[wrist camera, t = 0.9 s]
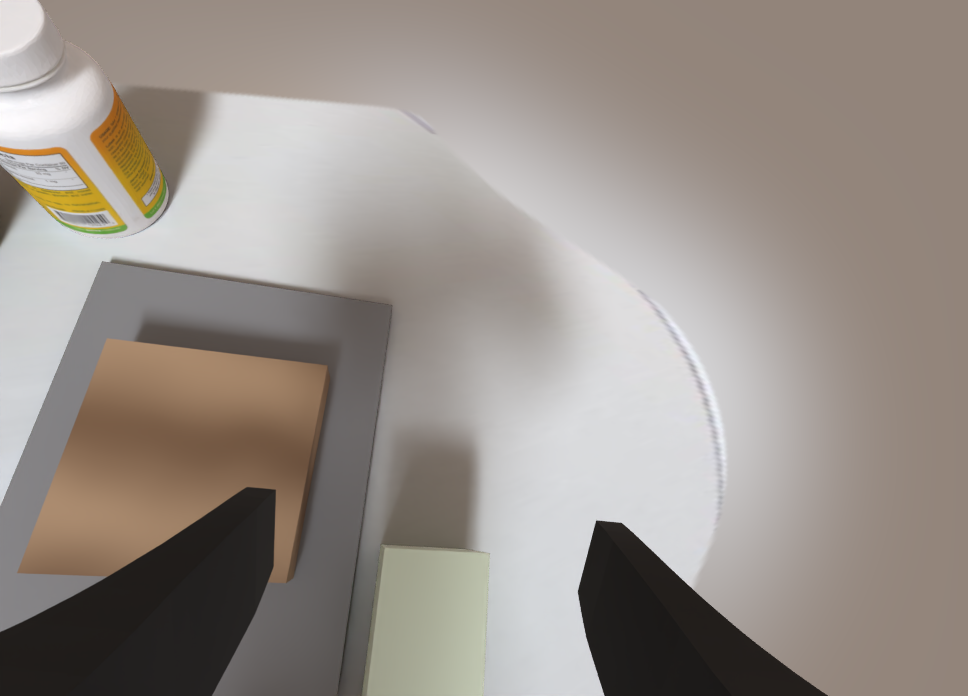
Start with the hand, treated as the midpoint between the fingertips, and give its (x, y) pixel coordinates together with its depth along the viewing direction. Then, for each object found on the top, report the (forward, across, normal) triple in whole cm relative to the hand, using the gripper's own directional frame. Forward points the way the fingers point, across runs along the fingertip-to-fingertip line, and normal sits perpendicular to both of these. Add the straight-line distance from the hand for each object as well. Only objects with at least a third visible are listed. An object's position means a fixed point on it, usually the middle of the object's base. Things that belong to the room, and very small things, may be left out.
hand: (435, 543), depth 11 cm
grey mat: (+11, +10, +6) cm, 16 cm away
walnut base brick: (+11, +10, +6) cm, 16 cm away
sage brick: (+8, 0, +11) cm, 13 cm away
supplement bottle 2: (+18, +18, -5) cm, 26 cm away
